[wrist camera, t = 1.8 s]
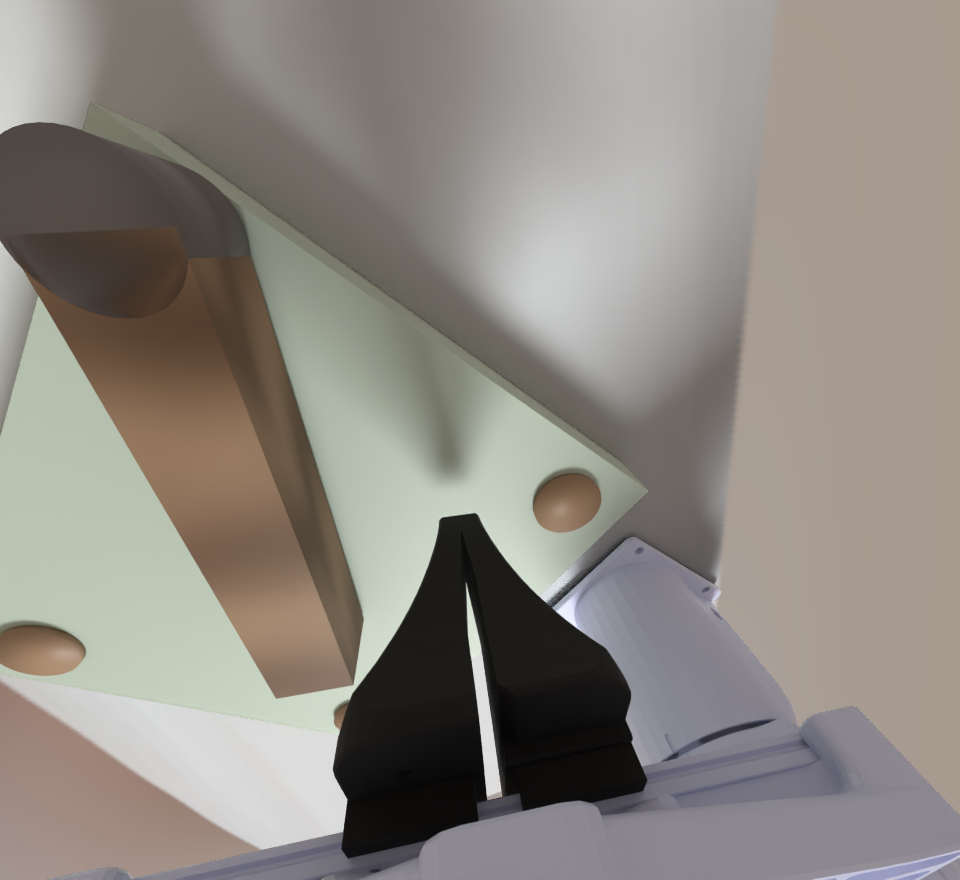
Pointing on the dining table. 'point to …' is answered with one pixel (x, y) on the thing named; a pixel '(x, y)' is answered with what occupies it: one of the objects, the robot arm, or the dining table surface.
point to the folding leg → (188, 382)
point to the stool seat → (340, 464)
